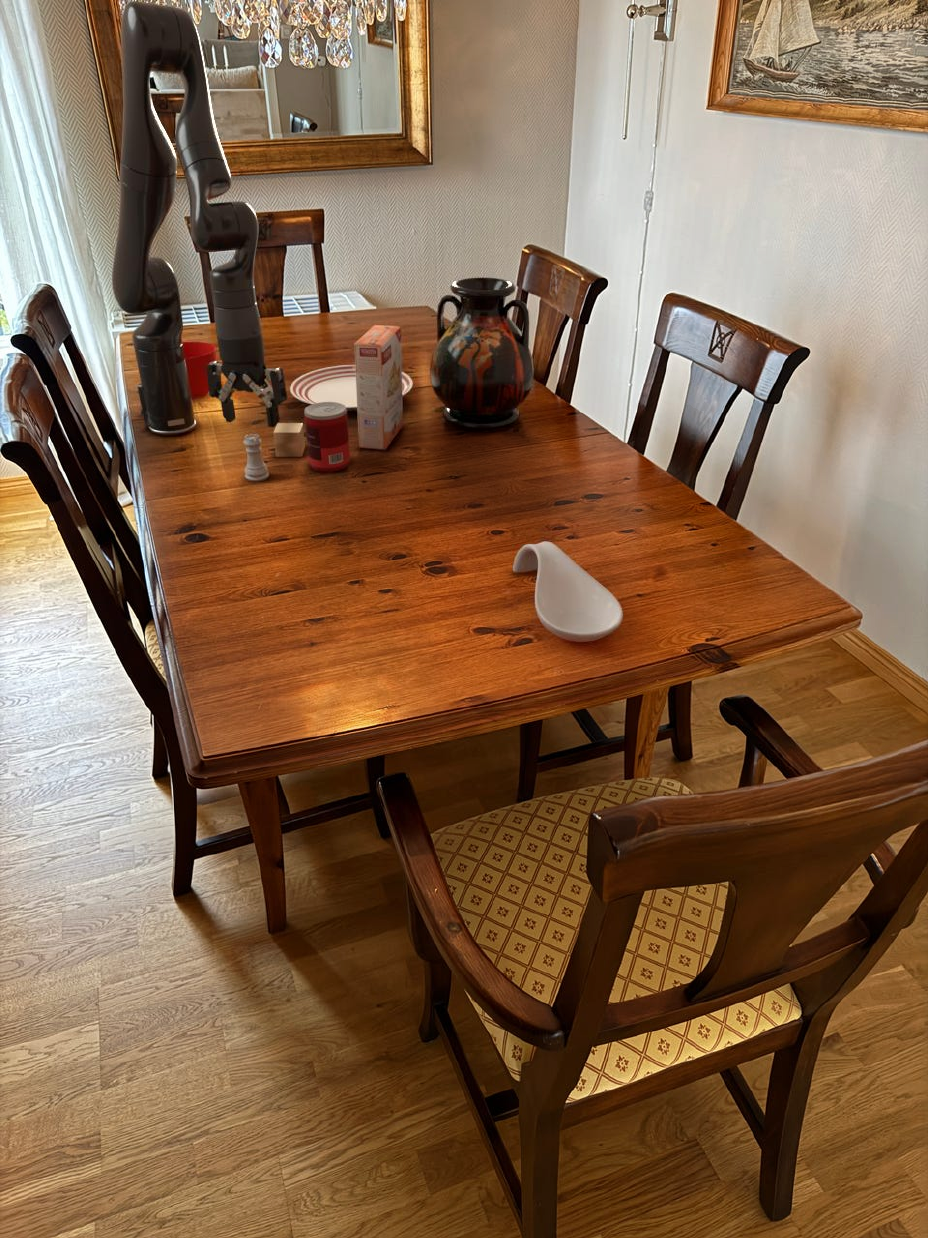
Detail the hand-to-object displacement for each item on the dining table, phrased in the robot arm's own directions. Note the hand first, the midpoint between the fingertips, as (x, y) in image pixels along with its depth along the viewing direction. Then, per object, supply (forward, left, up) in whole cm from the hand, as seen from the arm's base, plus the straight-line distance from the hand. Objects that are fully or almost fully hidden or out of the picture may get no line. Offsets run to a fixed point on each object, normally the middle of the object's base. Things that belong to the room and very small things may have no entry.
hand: (251, 423), depth 160 cm
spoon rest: (+63, -26, -11) cm, 69 cm away
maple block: (0, +13, -11) cm, 17 cm away
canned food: (+10, +10, -11) cm, 18 cm away
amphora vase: (+30, +42, -11) cm, 52 cm away
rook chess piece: (0, 0, -11) cm, 11 cm away
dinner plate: (-2, +46, -11) cm, 47 cm away
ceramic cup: (-38, +38, -11) cm, 55 cm away
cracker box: (+14, +26, -11) cm, 31 cm away
